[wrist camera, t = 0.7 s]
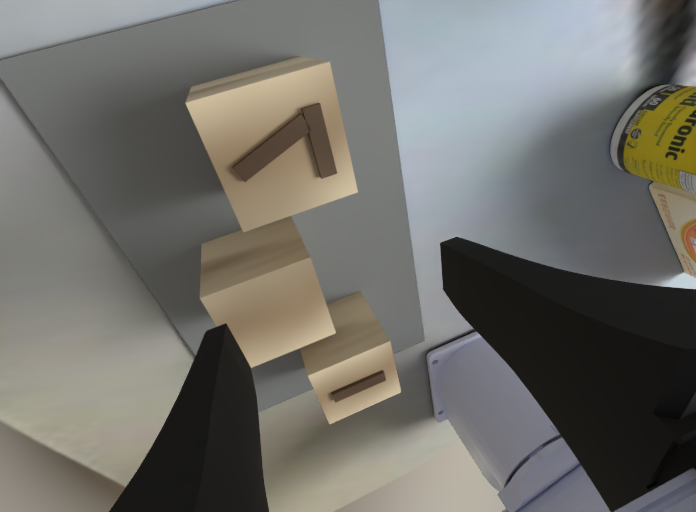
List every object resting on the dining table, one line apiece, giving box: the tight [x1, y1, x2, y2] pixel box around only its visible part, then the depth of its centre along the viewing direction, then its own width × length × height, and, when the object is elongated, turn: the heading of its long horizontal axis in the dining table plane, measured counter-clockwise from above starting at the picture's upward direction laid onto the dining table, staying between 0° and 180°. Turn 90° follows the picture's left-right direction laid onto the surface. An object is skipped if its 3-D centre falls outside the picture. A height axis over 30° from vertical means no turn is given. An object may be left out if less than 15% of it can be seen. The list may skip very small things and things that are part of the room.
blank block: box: [200, 216, 336, 368], centre depth 17 cm, size 4×4×4 cm
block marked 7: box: [185, 56, 358, 232], centre depth 14 cm, size 4×4×5 cm
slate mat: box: [0, 0, 425, 412], centre depth 19 cm, size 22×14×1 cm, turn 13°
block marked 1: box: [300, 291, 401, 424], centre depth 21 cm, size 4×4×5 cm
